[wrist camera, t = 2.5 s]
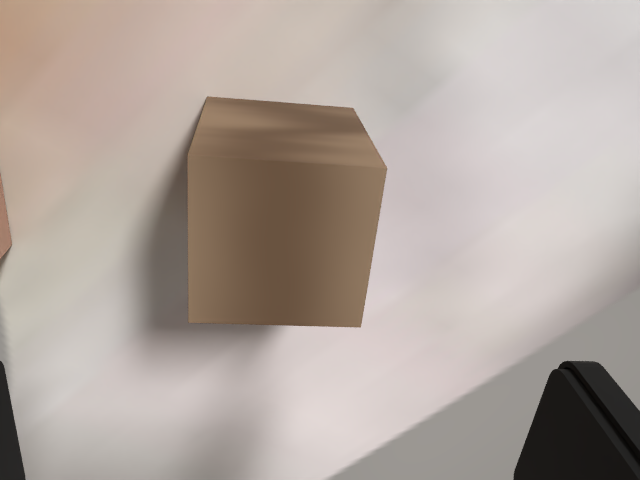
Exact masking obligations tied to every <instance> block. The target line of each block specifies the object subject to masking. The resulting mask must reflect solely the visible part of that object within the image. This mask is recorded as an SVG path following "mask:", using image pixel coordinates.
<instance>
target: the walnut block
mask: <svg viewBox="0 0 640 480" xmlns="http://www.w3.org/2000/svg"><path fill="white" fill-rule="evenodd" d="M187 169H188V323H218V324H255V325H292V326H328V327H361V323H362V317H363V311H364V305H365V299H366V293H367V287H368V281H369V275H370V269H371V263H372V257H373V250H374V244H375V238H376V232H377V226H378V220H379V214H380V208H381V202H382V196H383V190H384V184H385V178H386V172H387V167H386V165H385V163H384V162H383V160H382V158H381V156H380V155H379V153H378V151H377V149H376V148H375V146H374V144H373V142H372V141H371V139H370V137H369V135H368V133H367V132H366V130H365V128H364V126H363V125H362V123H361V121H360V119H359V118H358V116H357V114H356V112H355V110H354V109H353V108H347V107H334V106H321V105H308V104H296V103H283V102H270V101H257V100H245V99H232V98H219V97H207V99H206V102H205V105H204V108H203V111H202V114H201V117H200V120H199V123H198V125H197V128H196V131H195V134H194V137H193V140H192V143H191V146H190V149H189V152H188V155H187Z"/></svg>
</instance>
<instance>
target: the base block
mask: <svg viewBox="0 0 640 480" xmlns="http://www.w3.org/2000/svg"><path fill="white" fill-rule="evenodd" d="M11 245H12V242H11V236H10V229H9V223H8V217H7V211H6V205H5V199H4V193H3V187H2V181H1V175H0V259H1V257H2V256H3V255H4V254H5V253H6V251H7V250H8V249H9V248H10V247H11Z"/></svg>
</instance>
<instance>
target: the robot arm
mask: <svg viewBox="0 0 640 480" xmlns="http://www.w3.org/2000/svg"><path fill="white" fill-rule="evenodd" d="M0 480H25V473H24V468H23V463H22V457H21V452H20V447H19V442H18V436H17V431H16V426H15V421H14V416H13V410H12V405H11V400H10V395H9V389H8V384H7V379H6V374H5V368H4V365H3V363H2V362H1V361H0ZM514 480H640V411H639V410H638V409H637V408H636V406H635V405H634V404H633V403H632V401H631V400H630V399H629V398H628V397H627V395H626V394H625V393H624V392H623V390H622V389H621V388H620V387H619V386H618V385H617V383H616V382H615V381H614V380H613V378H612V377H611V376H610V375H609V373H608V372H607V371H606V370H605V369H604V367H603V366H601V365H600V364H599V363H597V362H593V361H592V362H589V361H565V362H563V363H562V364H560V366H559V367H558V369H555V370H553V371H552V372H551V374H550V376H549V378H548V381H547V384H546V386H545V389H544V392H543V395H542V397H541V400H540V403H539V405H538V408H537V411H536V414H535V416H534V419H533V422H532V425H531V427H530V430H529V433H528V436H527V438H526V441H525V444H524V447H523V449H522V452H521V455H520V457H519V460H518V463H517V466H516V468H515V471H514Z"/></svg>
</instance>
